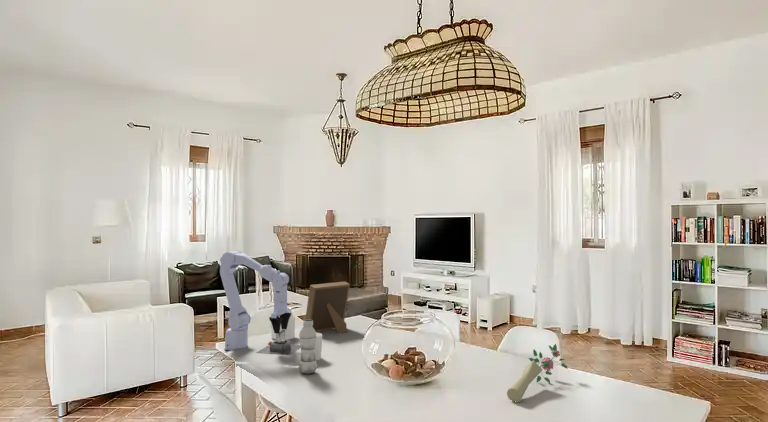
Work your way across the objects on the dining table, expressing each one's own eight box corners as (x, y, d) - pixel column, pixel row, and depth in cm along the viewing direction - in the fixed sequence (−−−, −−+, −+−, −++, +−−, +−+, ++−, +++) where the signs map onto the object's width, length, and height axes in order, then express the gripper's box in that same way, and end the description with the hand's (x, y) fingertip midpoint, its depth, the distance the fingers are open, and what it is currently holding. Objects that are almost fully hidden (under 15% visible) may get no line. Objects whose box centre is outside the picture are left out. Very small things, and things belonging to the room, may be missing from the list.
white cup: (320, 361, 200) (320, 337, 201) (301, 361, 201) (301, 337, 201) (323, 355, 208) (323, 332, 208) (305, 355, 208) (305, 332, 209)
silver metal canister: (274, 350, 214) (274, 331, 214) (278, 347, 218) (278, 329, 218) (282, 350, 213) (282, 332, 213) (286, 348, 217) (286, 330, 217)
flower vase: (507, 421, 160) (541, 371, 188) (541, 419, 152) (572, 367, 180) (493, 387, 160) (530, 342, 188) (527, 384, 153) (560, 338, 180)
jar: (267, 339, 235) (267, 308, 236) (280, 335, 244) (281, 305, 244) (284, 342, 229) (285, 311, 230) (298, 338, 238) (298, 307, 238)
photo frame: (303, 331, 251) (304, 283, 251) (338, 325, 265) (339, 280, 265) (319, 337, 240) (319, 287, 240) (354, 331, 253) (355, 283, 253)
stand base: (255, 355, 209) (255, 344, 209) (271, 345, 225) (271, 335, 225) (289, 357, 206) (289, 346, 206) (304, 347, 221) (304, 337, 221)
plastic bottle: (313, 376, 182) (313, 322, 182) (296, 374, 183) (296, 322, 184) (319, 370, 188) (319, 319, 188) (302, 369, 190) (302, 318, 190)
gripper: (281, 303, 208) (281, 335, 207) (295, 298, 222) (295, 327, 222) (266, 303, 209) (266, 334, 209) (281, 297, 223) (281, 327, 223)
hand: (280, 331), depth 215 cm, fingers open, 7 cm apart
